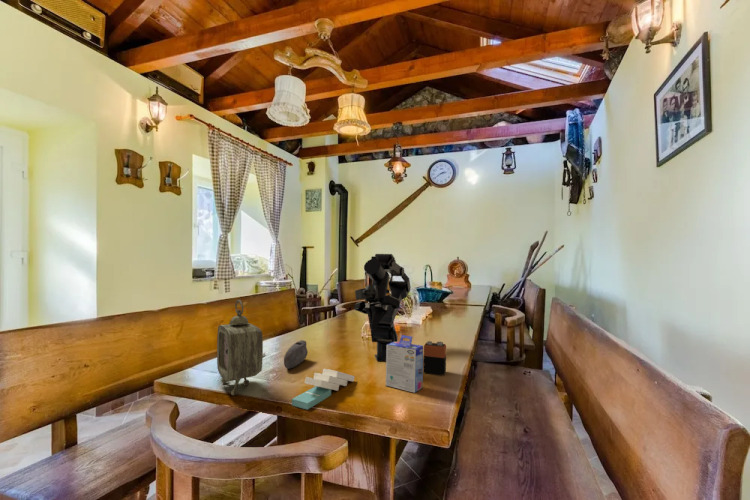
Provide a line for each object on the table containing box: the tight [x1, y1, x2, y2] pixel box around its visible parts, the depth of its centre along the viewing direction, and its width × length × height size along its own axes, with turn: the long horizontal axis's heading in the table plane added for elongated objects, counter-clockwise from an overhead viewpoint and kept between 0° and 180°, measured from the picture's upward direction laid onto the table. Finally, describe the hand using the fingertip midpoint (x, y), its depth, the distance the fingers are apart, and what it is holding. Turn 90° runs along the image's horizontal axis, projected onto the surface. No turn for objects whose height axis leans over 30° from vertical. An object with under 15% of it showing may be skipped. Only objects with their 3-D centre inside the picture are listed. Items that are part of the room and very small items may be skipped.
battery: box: [423, 340, 447, 376], centre depth 109 cm, size 4×7×10 cm, turn 72°
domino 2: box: [291, 386, 332, 411], centre depth 87 cm, size 2×5×10 cm
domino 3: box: [313, 372, 348, 387], centre depth 94 cm, size 2×5×10 cm
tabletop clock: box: [216, 299, 264, 396], centre depth 95 cm, size 14×9×25 cm, turn 37°
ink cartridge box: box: [385, 334, 424, 394], centre depth 97 cm, size 10×6×14 cm, turn 58°
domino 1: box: [304, 376, 340, 392], centre depth 90 cm, size 2×5×10 cm
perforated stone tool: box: [283, 339, 308, 370], centre depth 115 cm, size 15×5×7 cm, turn 168°
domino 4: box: [321, 368, 355, 382], centre depth 97 cm, size 2×5×10 cm
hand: (372, 329), depth 110 cm, fingers closed
